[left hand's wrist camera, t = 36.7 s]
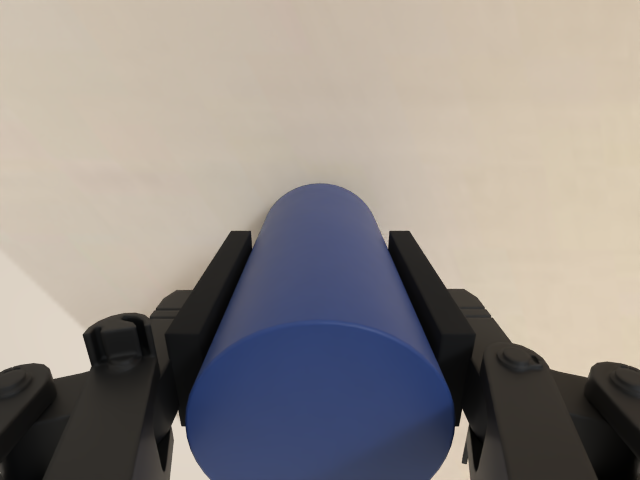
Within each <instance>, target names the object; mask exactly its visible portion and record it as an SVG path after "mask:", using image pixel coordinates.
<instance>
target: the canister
mask: <svg viewBox="0 0 640 480" xmlns="http://www.w3.org/2000/svg"><path fill="white" fill-rule="evenodd" d="M185 426H186V434H187V439H188V442H189V446H190V449H191V451H192V454H193V456H194V458H195V460H196V462H197V463H198V465H199V466H200V467H201V469H202V470H203V472H204V473H205V474H206V475H207V476H208V477H209V479H210V480H430V479H431V478H432V477H433V476H434V475H435V473H436V472H437V471H438V470H439V468H440V467H441V465H442V464H443V462H444V460H445V459H446V457H447V454H448V452H449V450H450V447H451V444H452V440H453V436H454V431H455V410H454V403H453V400H452V396H451V393H450V390H449V388H448V385H447V383H446V381H445V379H444V376H443V374H442V372H441V369H440V367H439V365H438V363H437V360H436V358H435V356H434V353H433V351H432V349H431V347H430V344H429V342H428V340H427V337H426V335H425V333H424V331H423V328H422V326H421V324H420V321H419V319H418V317H417V315H416V312H415V310H414V308H413V305H412V303H411V301H410V299H409V296H408V294H407V292H406V289H405V287H404V285H403V283H402V280H401V278H400V276H399V273H398V271H397V269H396V267H395V264H394V262H393V260H392V257H391V255H390V253H389V251H388V248H387V246H386V244H385V241H384V239H383V237H382V235H381V232H380V230H379V228H378V225H377V223H376V221H375V219H374V217H373V214H372V212H371V211H370V209H369V208H368V206H367V205H366V204H365V203H364V202H363V201H362V200H361V199H360V198H359V197H358V196H357V195H355V194H354V193H352V192H350V191H349V190H346V189H344V188H342V187H339V186H336V185H331V184H309V185H305V186H301V187H298V188H296V189H294V190H292V191H290V192H288V193H287V194H285V195H284V196H282V197H281V198H280V199H279V200H278V201H277V202H276V203H275V204H274V205H273V207H272V208H271V209H270V211H269V213H268V214H267V217H266V219H265V221H264V224H263V226H262V228H261V231H260V233H259V235H258V237H257V240H256V242H255V244H254V247H253V249H252V251H251V254H250V256H249V258H248V261H247V263H246V265H245V267H244V270H243V272H242V274H241V277H240V279H239V281H238V284H237V286H236V288H235V290H234V293H233V295H232V297H231V300H230V302H229V304H228V307H227V309H226V311H225V313H224V316H223V318H222V320H221V323H220V325H219V327H218V330H217V332H216V334H215V336H214V339H213V341H212V343H211V346H210V348H209V350H208V353H207V355H206V357H205V359H204V362H203V364H202V366H201V369H200V371H199V373H198V376H197V378H196V380H195V383H194V385H193V387H192V389H191V392H190V394H189V397H188V402H187V406H186V415H185Z"/></svg>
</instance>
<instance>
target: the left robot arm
mask: <svg viewBox="0 0 640 480" xmlns="http://www.w3.org/2000/svg"><path fill="white" fill-rule="evenodd" d="M251 251H252V240H251V231H231V232H230V234H229V235H228V237H227V238H226V240H225V241H224V243H223V244H222V246H221V247H220V249H219V251H218V252H217V254H216V255H215V257H214V258H213V260H212V261H211V263H210V264H209V266H208V267H207V269H206V271H205V272H204V274H203V275H202V277H201V278H200V280H199V281H198V283H197V284H196V286H195V288H194V289H193V290H176V291H175V292H173V293H172V294H170V295H168V296H167V297H165V298H164V299H163V300H162V301H161V303H160V304H159V305H158V307H157V308H156V311H154V312H153V313H152V314H151V316H150V319H149V318H148V317H147V316H145V315H143V314H139V313H123V314H118V315H114V316H110V317H108V318H105V319H103V320H100V321H98V322H97V323H95V324H94V325H92V326H90V327H89V328H88V329H87V330H86V331H85V333H84V334H83V338H84V341H85V345H86V348H87V352H88V355H89V359H90V362H91V366H92V367H91V369H90V371H88V372H84V373H80V374H76V375H71V376H66V377H61V378H57V379H53V377H52V374H51V371H50V369H49V368H48V367H47V366H45V365H44V364H36V363H32V364H24V365H19V366H14V367H13V368H12V367H11V368H8V369H6V370H3V371H2V372H0V480H170V471H171V462H172V452H173V443H174V439H173V433H172V427H171V425H172V423H173V420H174V418H175V416H176V414H177V411H178V410H179V416H180V421H181V426H185V415H186V406H187V402H188V397H189V394H190V392H191V389H192V387H193V385H194V383H195V380H196V378H197V376H198V373H199V371H200V369H201V366H202V364H203V362H204V359H205V357H206V355H207V353H208V350H209V348H210V346H211V343H212V341H213V339H214V336H215V334H216V332H217V330H218V327H219V325H220V323H221V320H222V318H223V316H224V313H225V311H226V309H227V307H228V304H229V302H230V300H231V297H232V295H233V293H234V290H235V288H236V286H237V284H238V281H239V279H240V277H241V274H242V272H243V270H244V267H245V265H246V263H247V261H248V258H249V256H250V254H251ZM388 251H389V253H390V255H391V257H392V260H393V262H394V264H395V267H396V269H397V271H398V273H399V276H400V278H401V280H402V283H403V285H404V287H405V289H406V292H407V294H408V296H409V299H410V301H411V303H412V305H413V308H414V310H415V312H416V315H417V317H418V319H419V321H420V324H421V326H422V328H423V331H424V333H425V335H426V337H427V340H428V342H429V344H430V347H431V349H432V351H433V353H434V356H435V358H436V360H437V363H438V365H439V367H440V369H441V372H442V374H443V376H444V379H445V381H446V383H447V385H448V388H449V390H450V393H451V396H452V400H453V403H454V410H455V426H459V423H460V418H461V412H462V409H463V411H464V413H465V415H466V418H467V420H468V422H469V427H468V432H467V437H466V442H465V447H464V452H463V458H462V463H464V464H467V460H468V461H469V470H470V480H640V370H639V369H637V368H634V367H632V366H628V365H625V364H621V363H614V362H601V363H596V364H595V365H594V366H592V367H591V370H590V373H589V376H588V378H587V377H582V376H577V375H572V374H567V373H563V372H558V371H555V370H551V369H550V368H549V366H548V365H547V363H546V362H545V360H544V359H543V358H542V357H541V356H539V355H538V354H537V353H535V352H534V351H532V350H530V349H528V348H526V347H524V346H521V345H517V344H513V343H512V342H511V341H510V340H509V338H508V337H507V336H506V334H505V333H504V332H503V331H502V329H501V328H500V327H499V325H498V324H497V323H496V321H495V320H494V319H493V318H491V315H490V314H489V312H488V311H487V310H486V309H485V307H484V306H483V305H482V303H481V302H480V301H479V299H478V298H477V297H476V296H474V295H472V294H471V293H469V292H468V291H466V290H465V289H447V288H446V287H445V285H444V284H443V282H442V281H441V279H440V278H439V276H438V275H437V273H436V272H435V270H434V268H433V267H432V265H431V264H430V262H429V261H428V259H427V258H426V256H425V255H424V253H423V251H422V250H421V248H420V247H419V245H418V244H417V242H416V241H415V239H414V238H413V236H412V234H411V233H410V231H390V232H389V245H388Z"/></svg>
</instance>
